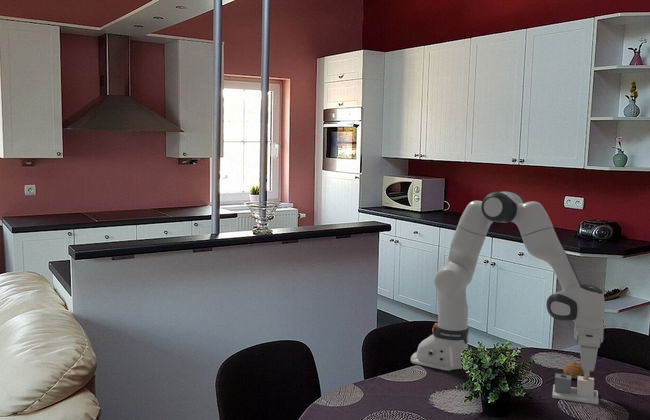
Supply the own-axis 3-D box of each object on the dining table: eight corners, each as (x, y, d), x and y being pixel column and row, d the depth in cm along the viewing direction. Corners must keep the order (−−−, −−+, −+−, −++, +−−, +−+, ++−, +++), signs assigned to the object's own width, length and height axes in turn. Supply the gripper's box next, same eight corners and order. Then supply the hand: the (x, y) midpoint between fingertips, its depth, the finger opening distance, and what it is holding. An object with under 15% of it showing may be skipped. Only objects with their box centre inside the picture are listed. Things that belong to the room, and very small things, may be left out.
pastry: (580, 381, 220) (580, 371, 219) (560, 378, 223) (560, 367, 223) (584, 373, 228) (584, 363, 227) (565, 370, 231) (565, 360, 231)
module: (576, 395, 204) (577, 378, 204) (576, 390, 208) (577, 373, 208) (593, 397, 202) (594, 380, 202) (593, 393, 206) (594, 376, 206)
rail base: (552, 397, 204) (553, 378, 204) (553, 387, 214) (554, 368, 213) (598, 404, 199) (599, 384, 199) (597, 393, 208) (598, 374, 208)
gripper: (578, 325, 214) (576, 364, 215) (578, 341, 195) (576, 384, 196) (597, 327, 212) (595, 366, 213) (600, 344, 193) (597, 387, 194)
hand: (586, 375), depth 205 cm, fingers closed
